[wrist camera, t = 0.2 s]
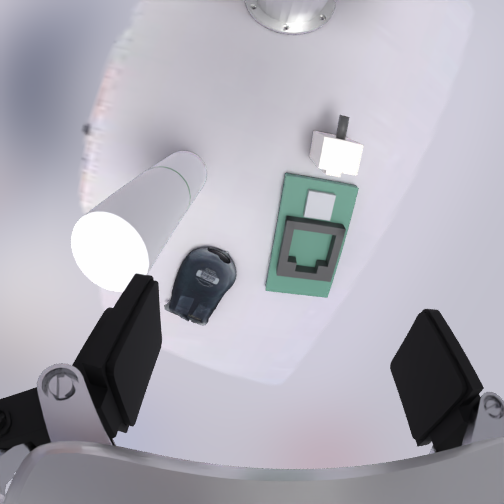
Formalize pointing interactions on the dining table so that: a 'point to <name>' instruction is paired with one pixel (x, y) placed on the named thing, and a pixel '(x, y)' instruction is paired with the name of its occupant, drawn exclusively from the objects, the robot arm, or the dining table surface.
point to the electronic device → (201, 285)
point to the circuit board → (309, 235)
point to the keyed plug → (336, 151)
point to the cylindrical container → (136, 221)
